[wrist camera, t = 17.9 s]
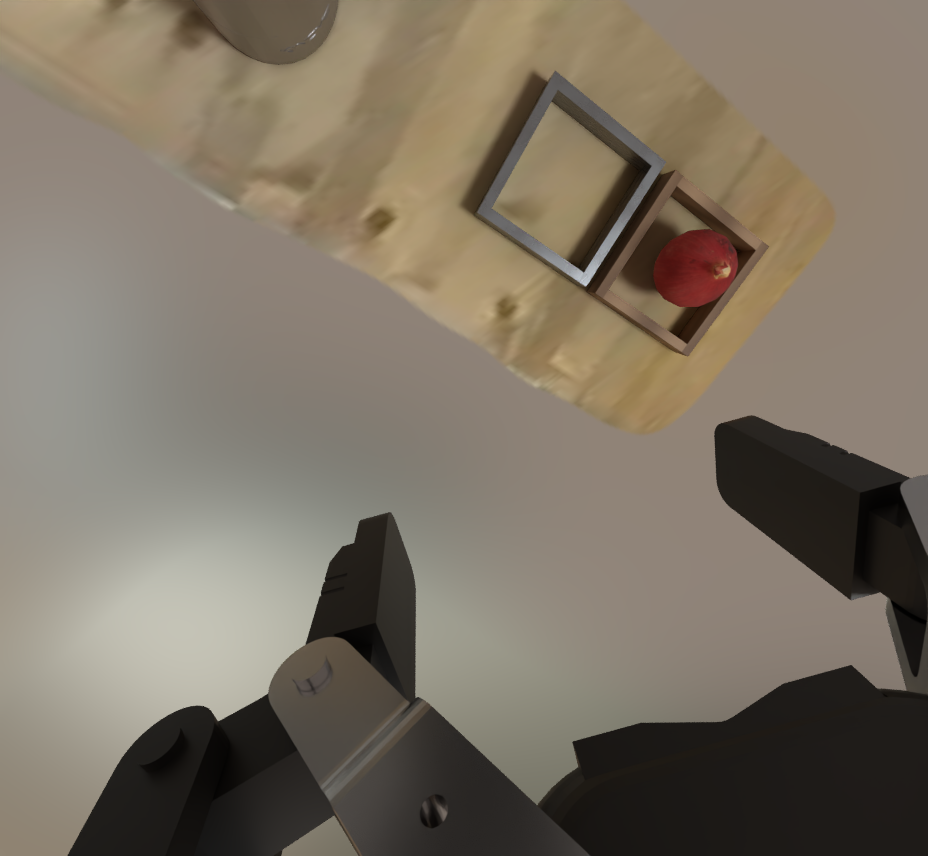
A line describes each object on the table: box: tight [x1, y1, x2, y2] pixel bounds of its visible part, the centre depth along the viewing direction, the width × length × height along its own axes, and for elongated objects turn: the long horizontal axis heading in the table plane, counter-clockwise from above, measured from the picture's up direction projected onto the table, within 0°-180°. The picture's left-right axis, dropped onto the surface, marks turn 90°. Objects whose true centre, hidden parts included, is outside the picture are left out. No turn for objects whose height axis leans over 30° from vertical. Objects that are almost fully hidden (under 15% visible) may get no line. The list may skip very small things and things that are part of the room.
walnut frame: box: [587, 170, 769, 356], centre depth 38 cm, size 11×11×2 cm
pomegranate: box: [653, 229, 738, 307], centre depth 35 cm, size 6×6×8 cm
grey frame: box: [474, 71, 666, 287], centre depth 35 cm, size 11×11×2 cm
